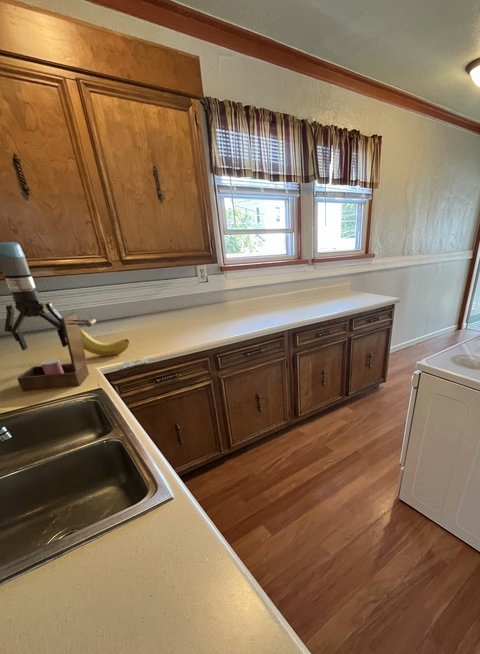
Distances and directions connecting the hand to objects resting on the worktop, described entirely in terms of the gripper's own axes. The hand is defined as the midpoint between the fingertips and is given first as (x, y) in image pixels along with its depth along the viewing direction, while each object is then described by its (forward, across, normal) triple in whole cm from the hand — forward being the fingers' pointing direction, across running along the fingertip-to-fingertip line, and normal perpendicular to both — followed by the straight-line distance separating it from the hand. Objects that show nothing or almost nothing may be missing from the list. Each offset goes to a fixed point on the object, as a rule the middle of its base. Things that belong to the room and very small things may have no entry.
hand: (45, 347), depth 126 cm
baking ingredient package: (+16, +23, +17) cm, 33 cm away
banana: (+16, +10, +34) cm, 39 cm away
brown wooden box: (+16, 0, 0) cm, 16 cm away
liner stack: (+15, 0, 0) cm, 15 cm away
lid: (-1, +10, 0) cm, 10 cm away
